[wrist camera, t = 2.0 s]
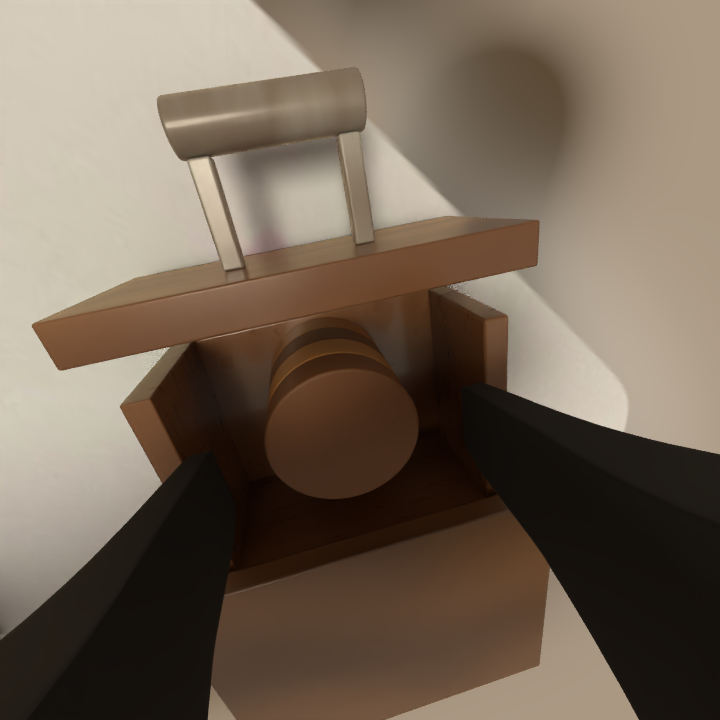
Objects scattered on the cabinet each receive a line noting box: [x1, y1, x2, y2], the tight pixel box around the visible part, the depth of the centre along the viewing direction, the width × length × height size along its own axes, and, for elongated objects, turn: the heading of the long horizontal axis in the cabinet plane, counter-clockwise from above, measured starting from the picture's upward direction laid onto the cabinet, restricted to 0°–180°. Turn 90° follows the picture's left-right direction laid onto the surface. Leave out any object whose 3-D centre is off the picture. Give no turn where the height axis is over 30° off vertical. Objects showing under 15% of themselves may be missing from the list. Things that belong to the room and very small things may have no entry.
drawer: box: [32, 67, 539, 573], centre depth 12 cm, size 15×12×6 cm
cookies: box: [264, 317, 419, 499], centre depth 12 cm, size 5×5×5 cm
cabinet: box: [211, 495, 550, 720], centre depth 17 cm, size 12×14×8 cm
